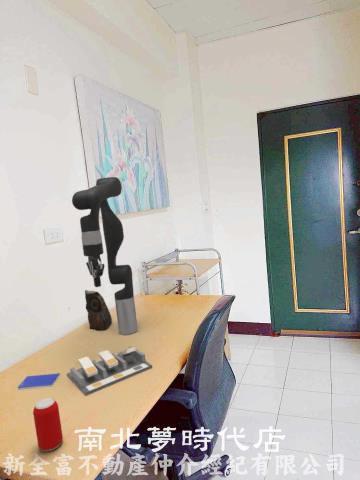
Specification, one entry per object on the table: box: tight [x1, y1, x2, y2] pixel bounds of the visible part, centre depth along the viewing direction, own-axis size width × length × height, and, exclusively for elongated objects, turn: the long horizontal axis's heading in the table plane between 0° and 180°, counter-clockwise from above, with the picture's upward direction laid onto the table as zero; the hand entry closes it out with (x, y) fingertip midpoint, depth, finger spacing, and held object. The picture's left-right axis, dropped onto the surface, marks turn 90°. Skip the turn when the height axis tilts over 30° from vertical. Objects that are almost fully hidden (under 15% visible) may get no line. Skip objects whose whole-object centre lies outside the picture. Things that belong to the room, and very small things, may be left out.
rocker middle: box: [98, 349, 118, 368], centre depth 129 cm, size 9×4×2 cm, turn 36°
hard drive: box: [17, 373, 61, 391], centre depth 127 cm, size 2×8×12 cm
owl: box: [84, 289, 113, 332], centre depth 180 cm, size 13×13×20 cm
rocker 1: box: [77, 356, 98, 377], centre depth 124 cm, size 9×4×2 cm, turn 36°
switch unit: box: [66, 346, 153, 396], centre depth 129 cm, size 19×26×4 cm
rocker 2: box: [117, 346, 136, 356], centre depth 134 cm, size 9×4×2 cm, turn 36°
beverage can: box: [32, 397, 64, 452], centre depth 91 cm, size 6×6×12 cm
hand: (97, 286), depth 135 cm, fingers closed
